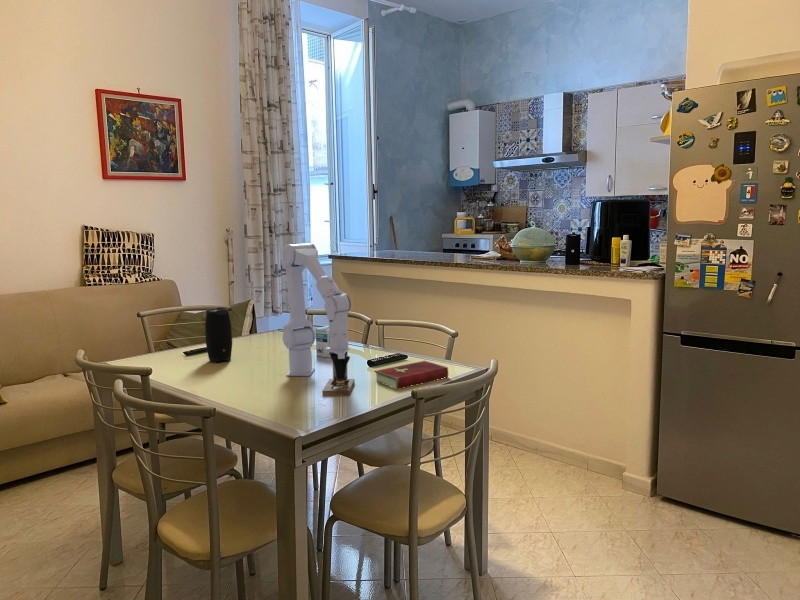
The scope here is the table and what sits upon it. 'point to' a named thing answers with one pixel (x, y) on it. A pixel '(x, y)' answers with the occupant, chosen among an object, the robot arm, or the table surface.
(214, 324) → the portable speaker
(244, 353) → the table surface
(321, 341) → the light bulb box
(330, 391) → the keyhole plate
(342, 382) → the peg
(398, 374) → the hardcover book
